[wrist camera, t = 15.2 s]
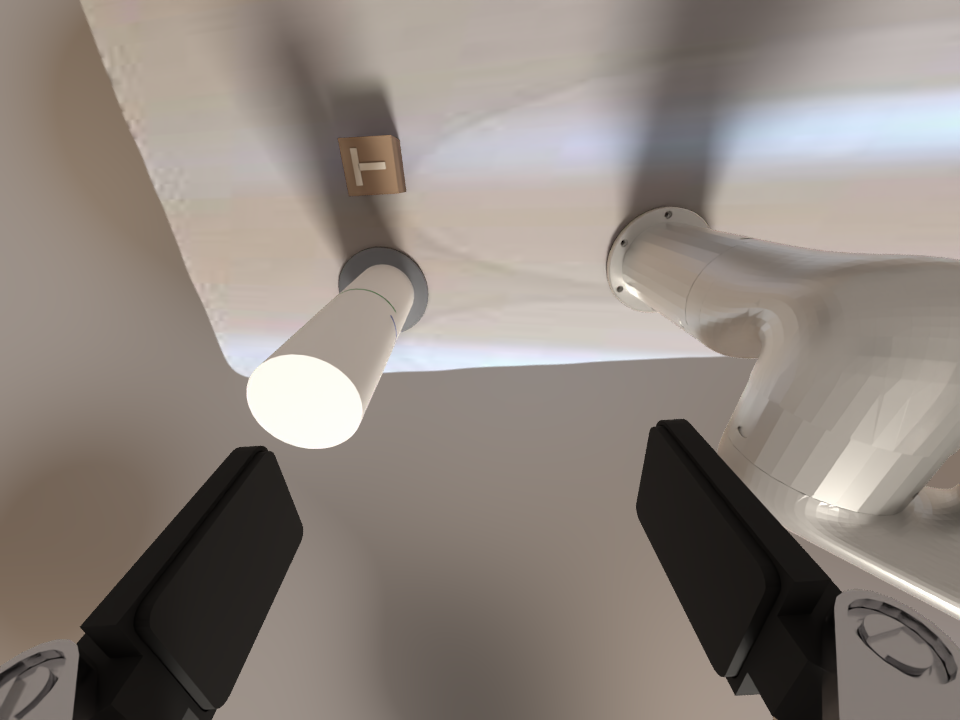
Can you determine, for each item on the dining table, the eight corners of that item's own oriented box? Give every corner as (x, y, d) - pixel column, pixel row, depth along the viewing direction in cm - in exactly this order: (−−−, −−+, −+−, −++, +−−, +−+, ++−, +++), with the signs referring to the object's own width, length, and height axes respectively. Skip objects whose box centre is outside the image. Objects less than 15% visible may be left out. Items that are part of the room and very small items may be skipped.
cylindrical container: (367, 325, 47) (277, 456, 25) (347, 271, 44) (224, 366, 22) (420, 314, 47) (377, 438, 25) (404, 258, 44) (338, 343, 21)
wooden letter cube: (399, 140, 39) (390, 134, 34) (406, 191, 41) (398, 193, 36) (351, 143, 39) (335, 138, 34) (360, 194, 41) (347, 196, 36)
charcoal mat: (441, 271, 45) (441, 272, 45) (409, 345, 49) (409, 346, 49) (354, 231, 43) (353, 231, 42) (329, 312, 47) (328, 313, 47)
